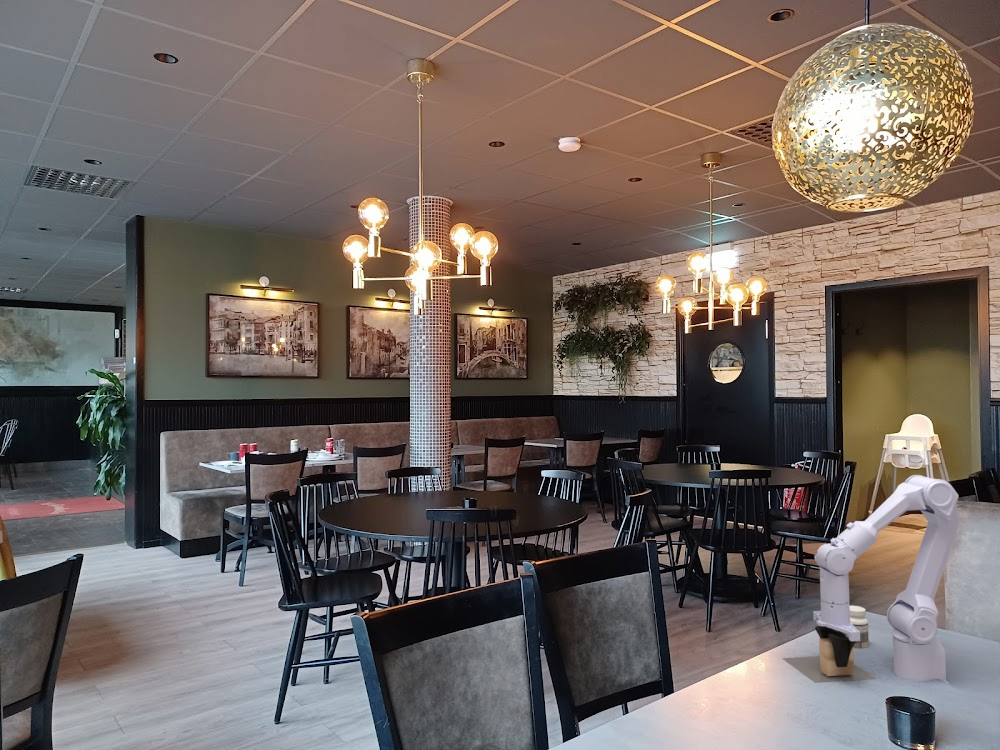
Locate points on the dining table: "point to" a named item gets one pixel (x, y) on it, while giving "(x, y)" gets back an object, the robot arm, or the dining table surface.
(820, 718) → the dining table surface
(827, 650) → the block
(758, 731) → the dining table surface
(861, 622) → the pill bottle
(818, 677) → the board
